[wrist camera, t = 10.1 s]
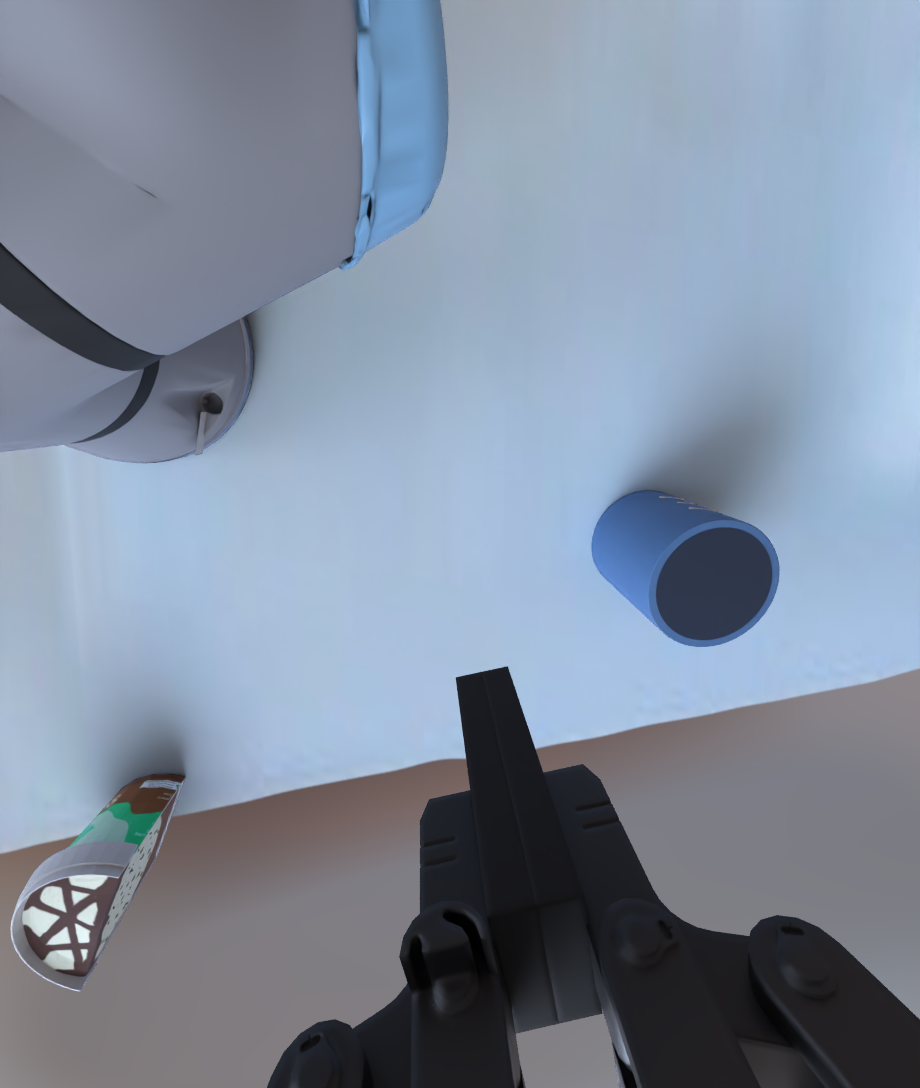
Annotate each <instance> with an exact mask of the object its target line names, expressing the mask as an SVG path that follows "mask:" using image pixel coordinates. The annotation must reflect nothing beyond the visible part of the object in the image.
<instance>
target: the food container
mask: <svg viewBox="0 0 920 1088" xmlns="http://www.w3.org/2000/svg"><path fill="white" fill-rule="evenodd" d="M184 780H185V777H183V776H178V775H173V774H153V775H149V776H146V777H142V778H138V779H136V780H134V781H132V782H131V783H129V784H128V785H126V786H125V787H123V788H122V789H121V790H120V791H119V792H118V794H117V795H116V796H115V797H114V798H113V799H112V800H111V801H110V802H109V803H108V804H107V806H106V807H105V808H104V809H103V810H102V811H101V812H100V813H99V814H98V815H97V817H96V818H95V819H94V820H93V821H92V822H91V823H90V824H89V825H88V826H87V828H86V829H85V830H84V831H83V832H82V833H81V834H80V835H79V836H78V837H77V839H76V840H75V841H74V842H73V843H72V844H71V845H70V846H69V847H68V848H67V849H64V850H62V851H60V852H58V853H56V854H54V855H53V856H51V857H50V858H48V859H47V860H45V861H44V862H43V863H42V864H41V865H40V866H39V867H38V868H37V869H36V870H35V872H34V873H33V875H32V876H31V878H30V879H29V882H28V883H27V885H26V887H25V888H24V890H23V892H22V894H21V896H20V898H19V900H18V902H17V905H16V907H15V912H14V915H13V917H12V922H11V938H12V941H13V944H14V947H15V949H16V951H17V953H18V954H19V956H20V958H21V959H22V960H23V961H24V962H25V963H26V965H27V966H28V967H30V968H31V969H32V970H33V971H34V972H35V973H37V974H38V975H40V976H42V977H43V978H44V979H46V980H48V981H51V982H52V983H54V984H57V985H59V986H62V987H65V988H68V989H72V990H76V991H81V989H82V987H83V986H84V984H85V983H86V982H87V980H88V978H89V977H90V975H91V973H92V972H93V970H94V969H95V967H96V965H97V961H98V959H99V958H100V956H101V954H102V952H103V951H104V949H105V947H106V945H107V943H108V942H109V940H110V938H111V937H112V935H113V933H114V931H115V929H116V928H117V926H118V924H119V922H120V921H121V919H122V917H123V915H124V914H125V912H126V910H127V908H128V907H129V905H130V903H131V901H132V900H133V898H134V896H135V894H136V893H137V891H138V889H139V887H140V885H141V884H142V882H143V880H144V879H145V877H146V875H147V873H148V871H149V870H150V868H151V866H152V864H153V863H154V861H155V859H156V857H157V855H158V852H159V850H160V847H161V844H162V841H163V839H164V836H165V833H166V830H167V827H168V825H169V822H170V819H171V816H172V814H173V811H174V808H175V805H176V802H177V800H178V797H179V794H180V791H181V788H182V786H183V783H184Z"/></svg>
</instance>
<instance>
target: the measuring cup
mask: <svg viewBox="0 0 920 1088" xmlns="http://www.w3.org/2000/svg"><path fill="white" fill-rule="evenodd" d="M592 555H593V559H594V563H595V565H596V567H597V569H598V570H599V572H600V573H601V575H602V576H603V577H604V578H605V579H606V580H607V581H608V582H609V583H610V584H612V585H613V586H614V587H615V588H616V589H617V590H618V591H619V592H620V593H621V594H622V595H623V596H624V597H625V598H627V599H628V600H629V601H630V602H631V603H632V604H633V605H634V606H635V607H636V608H637V609H638V610H639V611H640V612H642V613H643V614H644V615H645V616H646V617H647V618H648V619H649V620H650V621H651V622H652V623H653V624H654V625H655V626H656V627H658V628H659V629H660V630H661V631H662V632H663V633H664V634H665V635H667V636H668V637H669V638H671V639H673V640H674V641H676V642H679V643H681V644H685V645H688V646H695V647H708V646H715V645H719V644H723V643H726V642H729V641H731V640H733V639H735V638H737V637H739V636H740V635H742V634H744V633H745V632H747V631H748V630H749V629H750V628H752V627H753V626H754V625H755V624H756V623H757V622H758V621H759V620H760V619H761V617H762V616H763V615H764V614H765V612H766V611H767V609H768V608H769V606H770V604H771V602H772V601H773V598H774V596H775V593H776V590H777V586H778V582H779V562H778V557H777V554H776V551H775V549H774V547H773V545H772V543H771V542H770V540H769V539H768V538H767V537H766V536H765V535H764V534H763V533H762V532H761V531H760V530H759V529H757V528H756V527H754V526H752V525H750V524H748V523H745V522H743V521H740V520H737V519H734V518H732V517H729V516H726V515H723V514H720V513H718V510H711V509H706V508H704V507H701V506H698V505H697V504H694V503H690V502H687V501H686V499H682V498H676V497H673V496H670V495H667V494H664V493H661V492H657V491H640V492H635V493H632V494H629V495H627V496H625V497H623V498H621V499H619V500H618V501H616V502H615V503H614V504H612V505H611V506H610V507H609V508H608V509H607V510H606V511H605V512H604V514H603V515H602V516H601V518H600V520H599V521H598V523H597V525H596V528H595V530H594V534H593V539H592Z"/></svg>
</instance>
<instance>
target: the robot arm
mask: <svg viewBox="0 0 920 1088" xmlns="http://www.w3.org/2000/svg"><path fill="white" fill-rule="evenodd" d="M447 138H448V79H447V63H446V51H445V39H444V28H443V20H442V11H441V3H440V0H0V452H5V451H14V450H22V449H31V448H40V447H48V446H57V445H65V446H68V447H71V448H74V449H77V450H80V451H83V452H86V453H89V454H92V455H95V456H98V457H102V458H105V459H110V460H115V461H122V462H132V463H156V462H163V461H169V460H174V459H178V458H182V457H186V456H189V455H191V454H194V453H196V454H195V455H199V454H202V451H203V449H205V448H206V447H208V446H210V445H211V444H213V443H214V442H215V441H217V440H218V439H219V438H220V437H222V436H223V435H224V434H225V433H226V432H227V431H228V430H229V428H230V427H231V426H232V425H233V423H234V422H235V421H236V419H237V418H238V416H239V414H240V413H241V411H242V409H243V407H244V405H245V402H246V400H247V397H248V394H249V390H250V386H251V382H252V375H253V346H252V340H251V334H250V330H249V326H248V323H247V320H246V317H245V316H246V315H247V314H249V313H251V312H253V311H255V310H257V309H259V308H261V307H263V306H264V305H266V304H268V303H270V302H272V301H274V300H276V299H278V298H280V297H281V296H283V295H285V294H287V293H289V292H291V291H293V290H295V289H297V288H299V287H300V286H302V285H304V284H306V283H308V282H310V281H312V280H314V279H316V278H317V277H319V276H321V275H323V274H325V273H327V272H329V271H331V270H333V269H334V268H336V267H338V266H339V267H340V268H341V269H343V270H345V269H348V268H351V267H353V266H354V265H356V264H357V263H358V262H359V260H360V259H361V258H362V256H363V255H364V253H365V252H366V251H368V250H370V249H371V248H373V247H375V246H376V245H378V244H380V243H381V242H383V241H385V240H386V239H388V238H390V237H391V236H393V235H395V234H396V233H398V232H400V231H401V230H403V229H405V228H407V227H408V226H410V225H411V224H413V223H414V222H416V221H417V220H418V219H419V218H420V217H421V216H422V215H423V214H424V213H425V212H426V210H427V209H428V208H429V205H430V203H431V201H432V198H433V196H434V193H435V191H436V189H437V188H438V186H439V183H440V181H441V178H442V174H443V169H444V164H445V158H446V149H447ZM456 683H457V691H458V699H459V706H460V714H461V722H462V729H463V737H464V745H465V753H466V760H467V767H468V775H469V783H470V790H469V791H465V792H460V793H456V794H451V795H447V796H442V797H438V798H433V799H430V800H429V801H428V803H427V806H426V808H425V810H424V813H423V815H422V817H421V820H420V846H421V848H420V866H421V868H420V914H419V915H418V916H417V917H416V918H415V919H414V920H413V921H412V923H411V925H410V926H409V928H408V930H407V932H406V933H405V935H404V937H403V941H402V946H401V951H400V956H399V957H400V960H401V963H402V966H403V970H404V973H405V976H406V979H407V982H408V983H407V985H406V987H405V988H404V989H403V990H402V991H401V993H400V994H399V995H398V996H397V998H396V999H394V1000H393V1001H392V1002H391V1003H390V1004H388V1005H387V1006H386V1007H385V1008H383V1009H382V1010H380V1011H379V1012H377V1013H376V1014H375V1015H373V1016H372V1017H370V1018H368V1019H367V1020H365V1021H364V1022H362V1023H361V1024H359V1025H358V1026H356V1027H355V1028H353V1029H352V1028H351V1027H350V1025H348V1024H346V1023H343V1022H340V1021H338V1020H329V1021H323V1022H318V1023H316V1024H315V1025H313V1026H312V1027H310V1028H308V1029H307V1030H305V1031H304V1032H302V1033H300V1034H299V1035H298V1037H297V1038H296V1039H295V1040H294V1041H293V1042H292V1044H291V1045H290V1046H289V1047H288V1048H287V1050H285V1052H284V1053H283V1055H282V1057H281V1059H280V1061H279V1063H278V1064H277V1066H276V1068H275V1070H274V1072H273V1074H272V1076H271V1078H270V1081H269V1084H268V1086H267V1088H525V1082H524V1078H523V1074H522V1070H521V1066H520V1060H519V1054H518V1047H517V1041H516V1033H520V1032H525V1031H529V1030H533V1029H537V1028H542V1027H546V1026H550V1025H555V1024H559V1023H563V1022H567V1021H572V1020H576V1019H580V1018H585V1017H589V1016H594V1015H598V1014H602V1009H603V1013H604V1016H605V1019H606V1023H607V1026H608V1029H609V1033H610V1036H611V1039H612V1045H613V1052H614V1059H615V1064H616V1072H617V1079H618V1085H619V1088H920V1019H919V1018H917V1017H916V1016H915V1015H914V1014H913V1013H912V1012H911V1011H910V1010H909V1009H908V1008H907V1007H906V1006H905V1005H904V1004H903V1003H902V1002H901V1001H900V1000H898V998H897V997H895V996H894V995H893V994H892V993H891V992H890V991H889V990H888V989H887V988H886V987H885V986H884V985H883V984H882V983H881V982H880V981H879V980H878V979H877V978H876V977H875V976H874V975H872V974H871V973H870V972H869V971H868V970H867V969H866V968H865V967H864V966H863V965H862V964H861V963H860V962H859V961H858V960H857V959H856V958H854V956H853V955H851V954H850V953H849V952H848V951H847V950H846V949H845V948H844V947H843V946H842V945H841V944H840V943H839V942H837V941H836V940H835V939H834V938H832V937H831V936H830V935H828V934H827V933H826V932H824V931H823V930H822V929H820V928H819V927H817V926H815V925H812V924H810V923H808V922H805V921H803V920H801V919H799V918H795V917H787V916H779V915H776V916H773V917H769V918H766V919H762V920H760V922H758V924H757V925H756V926H755V927H754V928H753V929H752V930H751V932H750V936H744V935H736V934H729V933H722V932H714V931H710V930H706V929H702V928H697V927H695V926H693V925H691V924H689V923H687V922H685V921H683V920H681V919H680V918H679V917H677V916H676V915H675V914H673V913H672V912H670V911H669V909H668V908H667V907H666V906H665V905H664V904H663V903H662V902H661V901H660V900H659V898H658V896H657V895H656V893H655V892H654V890H653V888H652V886H651V884H650V882H649V880H648V878H647V876H646V874H645V872H644V870H643V868H642V865H641V863H640V861H639V859H638V857H637V855H636V853H635V851H634V849H633V847H632V845H631V843H630V840H629V838H628V836H627V834H626V832H625V830H624V828H623V826H622V824H621V822H620V821H619V818H618V816H617V813H616V811H615V809H614V807H613V805H612V804H611V802H610V799H609V797H608V795H607V793H606V791H605V788H604V787H603V784H602V782H601V780H600V779H599V778H598V777H597V776H596V775H595V774H593V773H592V772H591V771H590V770H589V769H588V768H586V766H584V765H583V764H582V765H577V766H572V767H567V768H563V769H558V770H554V771H549V772H545V773H543V771H542V768H541V765H540V762H539V759H538V756H537V753H536V750H535V747H534V744H533V741H532V738H531V735H530V732H529V729H528V726H527V723H526V720H525V717H524V714H523V711H522V708H521V705H520V702H519V699H518V696H517V693H516V690H515V687H514V684H513V681H512V678H511V675H510V672H509V669H508V666H507V667H503V668H498V669H493V670H489V671H484V672H479V673H474V674H470V675H465V676H460V677H456ZM601 1006H602V1007H601Z"/></svg>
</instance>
